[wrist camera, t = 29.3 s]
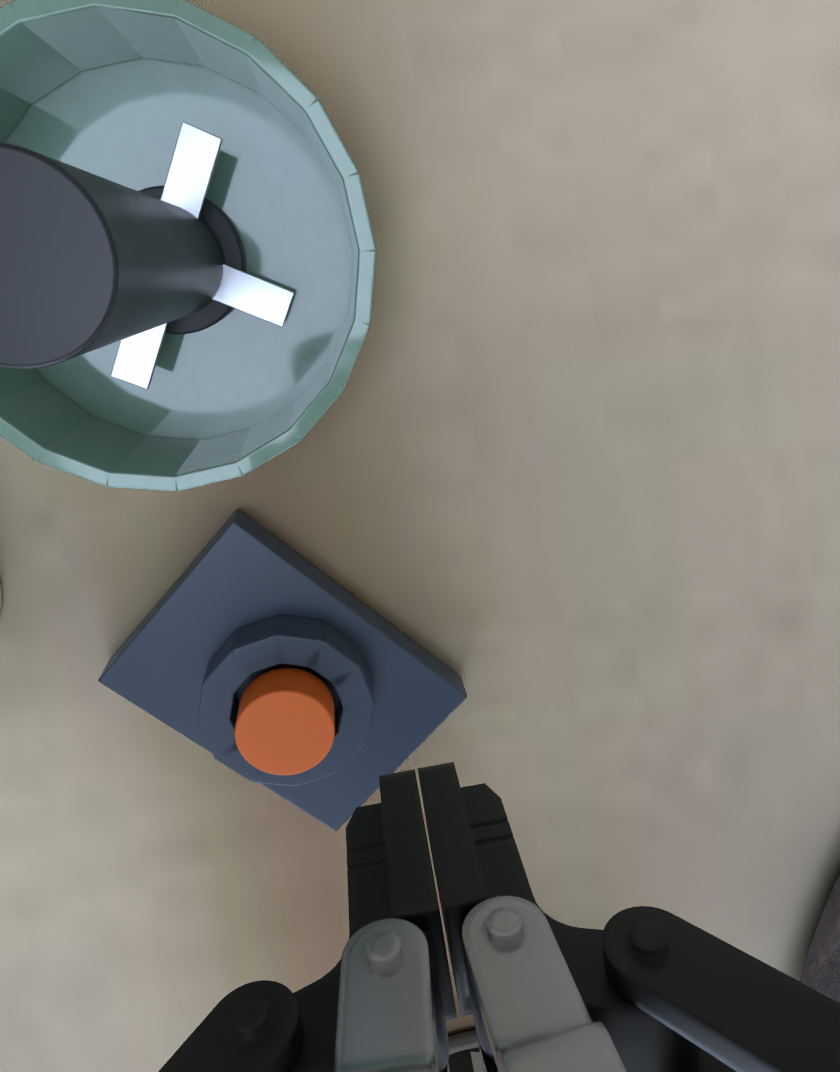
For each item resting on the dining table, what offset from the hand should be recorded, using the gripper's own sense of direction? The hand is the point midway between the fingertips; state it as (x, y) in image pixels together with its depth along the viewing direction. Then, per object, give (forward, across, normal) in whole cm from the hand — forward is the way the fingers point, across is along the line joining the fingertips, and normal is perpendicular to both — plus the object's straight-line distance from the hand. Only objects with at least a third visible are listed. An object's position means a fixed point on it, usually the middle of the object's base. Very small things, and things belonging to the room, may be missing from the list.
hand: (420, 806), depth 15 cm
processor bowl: (+17, +5, -11) cm, 21 cm away
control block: (+17, +4, +5) cm, 18 cm away
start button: (+14, +4, +5) cm, 16 cm away
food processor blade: (+16, +5, -11) cm, 20 cm away
